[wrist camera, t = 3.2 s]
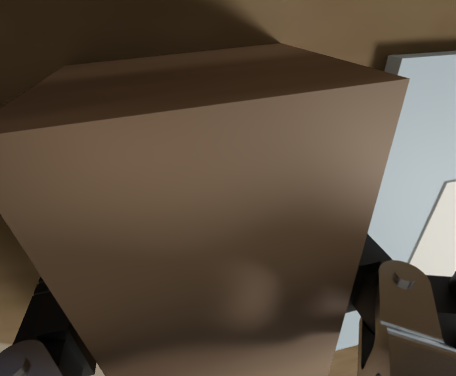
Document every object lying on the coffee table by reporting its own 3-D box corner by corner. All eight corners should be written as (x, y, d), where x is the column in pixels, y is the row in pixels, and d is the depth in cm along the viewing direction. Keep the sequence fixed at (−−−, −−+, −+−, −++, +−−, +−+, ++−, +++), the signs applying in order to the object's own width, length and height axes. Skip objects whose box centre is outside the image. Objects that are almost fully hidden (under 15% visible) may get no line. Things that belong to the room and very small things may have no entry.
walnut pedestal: (69, 62, 8) (-48, 139, 3) (273, 41, 9) (410, 78, 4) (154, 306, 15) (155, 453, 10) (268, 279, 16) (321, 401, 11)
